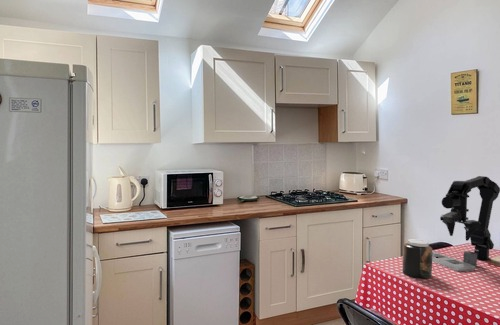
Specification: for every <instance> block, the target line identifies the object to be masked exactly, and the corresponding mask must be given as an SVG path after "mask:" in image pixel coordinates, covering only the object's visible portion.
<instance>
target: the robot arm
mask: <svg viewBox="0 0 500 325" xmlns="http://www.w3.org/2000/svg"><path fill="white" fill-rule="evenodd" d="M475 188H477V189H478V191H479V196H480V198H481V203H480V209H479V214H478V220H475V219H469V217H467V212H469V211H470V210H469V209H468V208H467V207H468V206H467V205H468V198H470V195H469V193H470V192H472V189H475ZM499 195H500V186H499V185H498V183H496V182H495V181H493V180H492V179H491V178H490V177H488V176H483V175H482V176H480V175H479V176H476V177H473V178H470V179H466V180H454V181H453V182H452V183H451V184H450V187H449V189H448V191H447V193H446V194H445V196H444V197H443V198H442V200H441V204H442V206H443V208H445V209H450V211H449V212H447V213H445V214H441V215H440V221H441V222H442V223H443V224H444V225H446V228H447V231H448V233H449V236H451V237H453V235H454V232H455V227H456V226H455V225H456V223H459V224H463V225H464V227H463V228H464V230H465V241H467V242H468V241H469V240H470V243H471V244H470V245H471V246H474V251H473V252H474V253H477V260H479V261H482V262H483V261H491V260H490V259H492V258H491V257H490V250H493V249H494V246H495V244H494V242H493V240H492V239H491V236H492V235H491V232H490V231H489V225H490V220H491V215H492V210H493V209H492V208H493V204H494V202H495V201H496V199H497V198H499Z"/></svg>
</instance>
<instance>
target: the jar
mask: <svg viewBox="0 0 500 325" xmlns="http://www.w3.org/2000/svg"><path fill="white" fill-rule="evenodd" d="M432 252H433V247H432V246H430V244H429V241H427V240H424V239H420V238H419V239H418V238H408V239H407V242H406V243H404V244H403V253H402V254H403V255H402V273H403V274H404V275H406V277H409V278H410V277H411V278H414V279H419V280H420V279H421V280H428V279H431V278H432V273H433V272H432V271H433V262H432V254H433V253H432Z"/></svg>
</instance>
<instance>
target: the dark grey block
mask: <svg viewBox="0 0 500 325" xmlns="http://www.w3.org/2000/svg"><path fill="white" fill-rule="evenodd" d="M462 258H463V259H462V261H463V262H466V263H469V264H472V265H474V266H475V267H476V266H477V263H478V259H477V253H474V251H469V250H468V251H463V257H462Z"/></svg>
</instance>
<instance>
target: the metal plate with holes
mask: <svg viewBox="0 0 500 325" xmlns="http://www.w3.org/2000/svg"><path fill="white" fill-rule="evenodd" d="M432 253H433V254H432V261H433V262H432V263H434V264H435V263H436V264H437V263H438V265H439V266H443V267H445V268H448V269H451V270H453V271H456V272H460V273H462V272H467V271H468V272H469V271H475V270H476V266H474V265H472V264H469V263H466V262H463V260H460V259H457V258H454V257H451V256H448V255H446V254H442V253H440V252H437V251H433V250H432ZM436 257H438V258H436Z"/></svg>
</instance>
